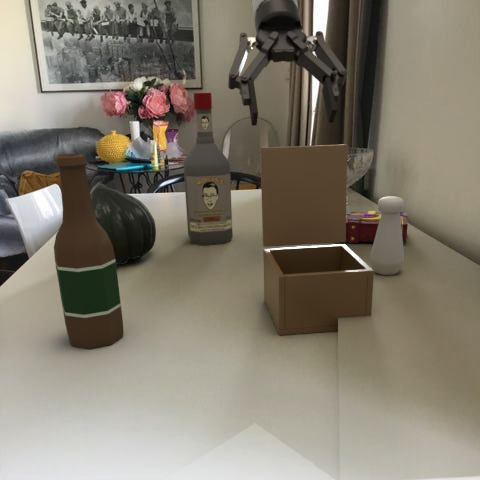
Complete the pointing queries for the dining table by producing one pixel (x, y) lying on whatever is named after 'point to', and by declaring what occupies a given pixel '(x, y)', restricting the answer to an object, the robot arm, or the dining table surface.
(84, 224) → the beer bottle
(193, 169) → the liquor
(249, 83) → the robot arm
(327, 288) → the open cardboard box
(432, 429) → the dining table surface
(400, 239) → the salt shaker
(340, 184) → the cardboard lid
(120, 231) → the squash
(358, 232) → the decorative book
